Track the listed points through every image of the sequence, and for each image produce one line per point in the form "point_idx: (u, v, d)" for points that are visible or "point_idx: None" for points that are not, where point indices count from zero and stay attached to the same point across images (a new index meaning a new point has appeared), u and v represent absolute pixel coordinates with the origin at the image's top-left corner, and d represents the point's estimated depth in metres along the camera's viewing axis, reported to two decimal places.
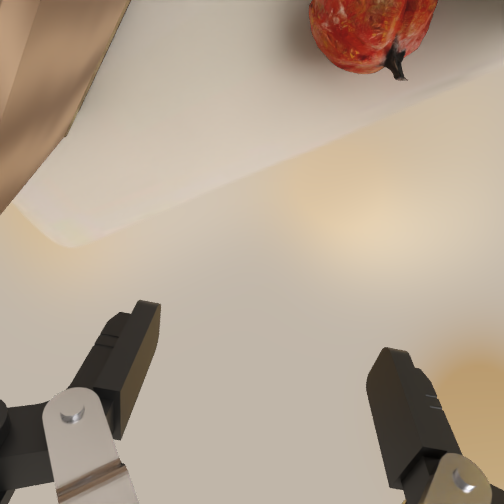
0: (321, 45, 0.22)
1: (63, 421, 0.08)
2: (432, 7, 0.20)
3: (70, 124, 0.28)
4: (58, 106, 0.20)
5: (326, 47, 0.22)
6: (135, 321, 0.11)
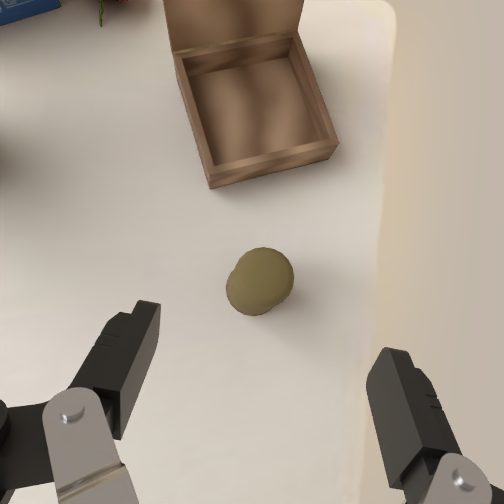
0: None
1: (63, 421, 0.08)
2: None
3: None
4: None
5: None
6: (135, 321, 0.11)
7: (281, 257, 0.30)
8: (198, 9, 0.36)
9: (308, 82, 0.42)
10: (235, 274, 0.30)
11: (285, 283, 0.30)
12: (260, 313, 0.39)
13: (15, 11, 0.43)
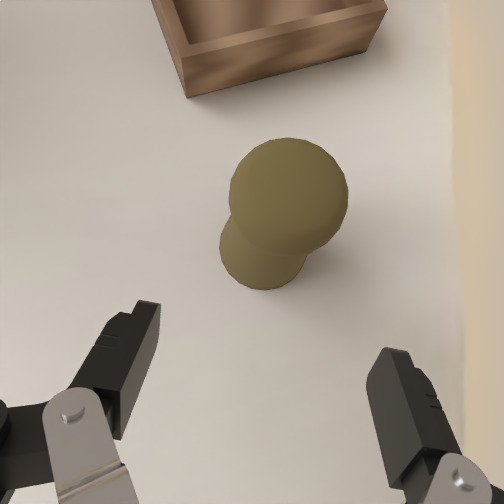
0: None
1: (63, 421, 0.08)
2: None
3: None
4: None
5: None
6: (135, 321, 0.11)
7: (322, 151, 0.15)
8: None
9: None
10: (232, 190, 0.15)
11: (335, 200, 0.14)
12: (277, 284, 0.23)
13: None
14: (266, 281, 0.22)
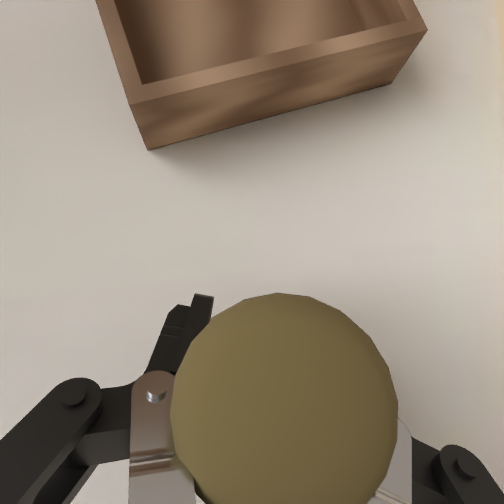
0: None
1: (151, 400, 0.09)
2: None
3: None
4: None
5: None
6: (196, 312, 0.12)
7: (350, 336, 0.08)
8: None
9: None
10: (173, 411, 0.08)
11: (378, 449, 0.07)
12: None
13: None
14: None
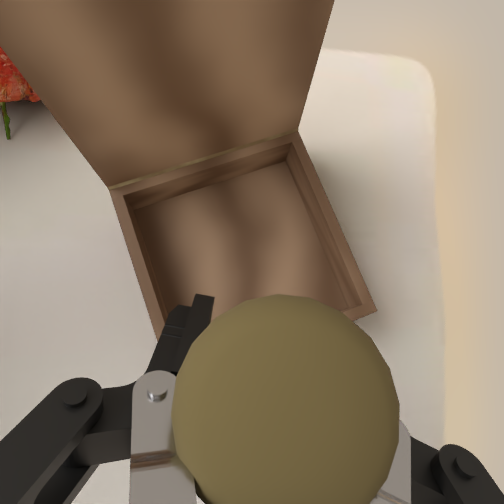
0: None
1: (152, 400, 0.09)
2: None
3: None
4: None
5: None
6: (196, 312, 0.12)
7: (351, 337, 0.08)
8: (135, 136, 0.22)
9: (320, 211, 0.27)
10: (174, 412, 0.08)
11: (379, 451, 0.07)
12: None
13: None
14: None
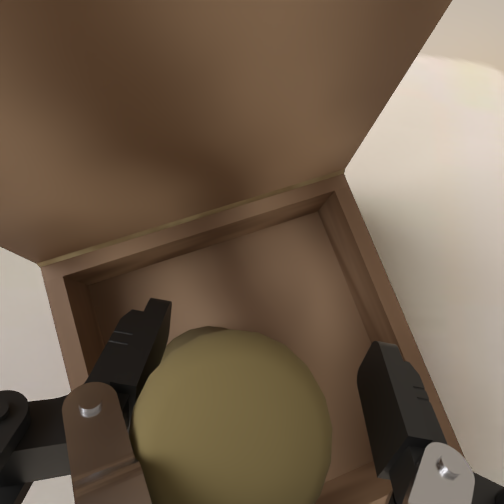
0: None
1: (82, 414, 0.08)
2: None
3: None
4: None
5: None
6: (148, 318, 0.11)
7: (291, 371, 0.09)
8: (68, 198, 0.12)
9: (378, 303, 0.17)
10: (130, 442, 0.08)
11: (312, 472, 0.08)
12: None
13: None
14: None
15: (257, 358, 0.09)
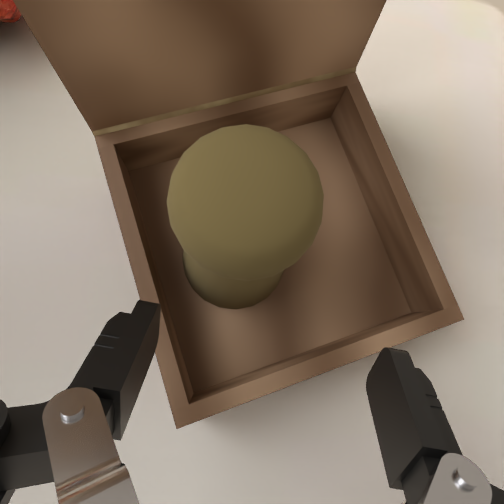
0: None
1: (63, 421, 0.08)
2: None
3: None
4: None
5: None
6: (135, 321, 0.11)
7: (289, 142, 0.11)
8: (134, 42, 0.14)
9: (384, 180, 0.20)
10: (168, 193, 0.11)
11: (304, 207, 0.11)
12: (249, 303, 0.20)
13: None
14: (233, 301, 0.19)
15: (262, 130, 0.11)
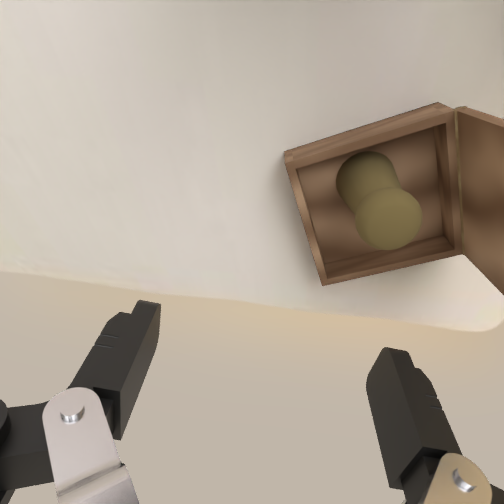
0: None
1: (63, 421, 0.08)
2: None
3: None
4: None
5: None
6: (135, 321, 0.11)
7: (408, 241, 0.29)
8: (488, 163, 0.28)
9: (395, 261, 0.39)
10: (396, 194, 0.28)
11: (380, 245, 0.29)
12: (338, 189, 0.37)
13: None
14: (341, 185, 0.36)
15: (415, 232, 0.29)
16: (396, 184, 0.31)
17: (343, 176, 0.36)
